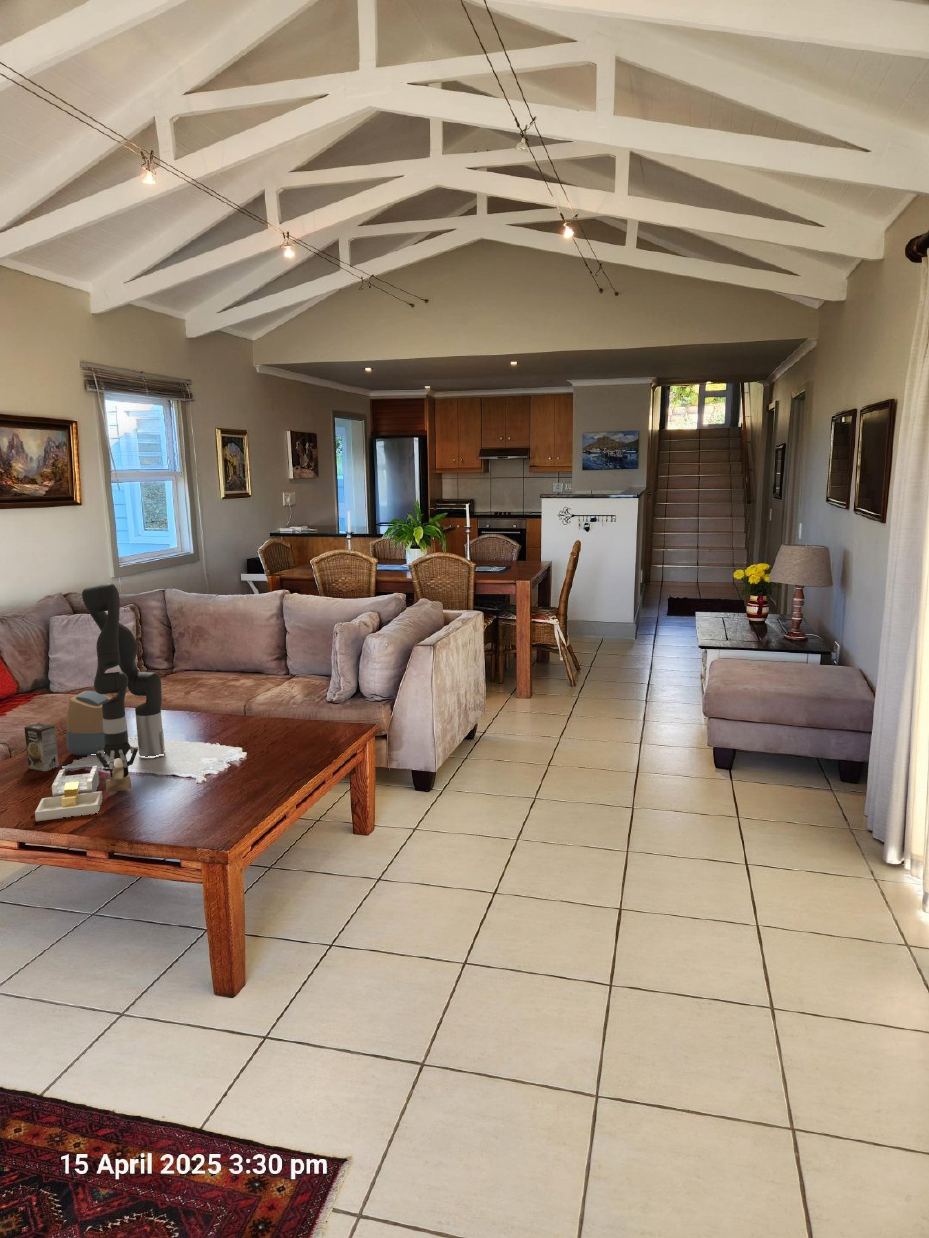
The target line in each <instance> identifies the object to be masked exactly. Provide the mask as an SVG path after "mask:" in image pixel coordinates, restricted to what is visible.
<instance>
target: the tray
mask: <svg viewBox="0 0 929 1238" xmlns="http://www.w3.org/2000/svg"><path fill="white" fill-rule="evenodd" d="M62 797H63V796H57V797H53V796H49V797H44V798H43V797H42V798H41V799H40V802H39V804H38V806H37V808H36V809H35V811H34V817H35V818H34V819H35V822H40V821H49V820H57V819H64V818H63V817H66V818H70V817H71V816H74V817H80V816H81V815H82V816H87V815H89V814H90V815H94V814H95V813H97V814H99V812H100V809H101V806H102V803H103V800H104V799H103V791H102V790H100V791H99V790H98V791H96V792H91V793H82V794H80V796H79V799H78V806H75V807H66V808H62V801H61V799H62ZM102 799H103V800H102ZM100 805H101V806H100ZM98 811H99V812H98ZM71 818H72V817H71Z"/></svg>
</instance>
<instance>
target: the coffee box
mask: <svg viewBox="0 0 929 1238" xmlns="http://www.w3.org/2000/svg"><path fill="white" fill-rule="evenodd" d="M23 729H24V736H25V737H24V739H25V744H26V753H27V764H28V769H32V770H35V771H36V770H37V771H39V772H40V771H41V772H48V771H50V770H53V769H56V768H58V767H60V766H59V765H60V764H59V755H58V754H59V753H58V746H57V745H58V744H57V743H58V742H57V733H56V725H52V724H47V723H42V722H38V723H35V724H29V725H26V726H25V727H23ZM55 767H56V768H55ZM52 768H53V769H52Z"/></svg>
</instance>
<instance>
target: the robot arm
mask: <svg viewBox="0 0 929 1238" xmlns="http://www.w3.org/2000/svg"><path fill="white" fill-rule="evenodd" d="M81 597H82V598H81V599H82V602H83V605H84V607H85V608H86V610H87V612H88V613H89V615H90V616H91V618H92V619H93V620H94V622H95V624H96V625H97V627H98V628H99V631H100V634H98V637H97V641H96V647H95V648H96V657H97V667H96V672H95V673H96V674H95V676H94V680H93V682H94V683H93V688H94V692H97V693H98V694H103V695H107V694H116V695H115V696H114V697H112V698H111V699H109V700H106V701H104V702H103V703H102V712H103V732H104V743H105V747H104V749H103V750H101V751H98V752H97V754H96V755H95V756H96V757H97V759H98V760H99V762H100V764H101V765H102V767H103V768H104V769H109V774H110V779H111V778H113V776H112V771H113V768H114V765H115V761H116V759H118V758H121V760H122V763H123V766H124V767H123V770H124V777H129V766H133V764H134V761H135V760H136V756H137V754H138V756H139V755H140V756H145V757H148V756H156V755H159V754H164V751H165V752H166V749H165V737H164V735H165V734H164V728H163V718H162V703H163V700H162V699H163V697H162V693H163V692H162V680H161V679H162V678H161V677H160V675H159V674H158V672H154V671H152V672H151V671H140V670H139V669H138V666H137V665H136V658H137V655H138V651H139V646H138V642H137V640H136V638H135V635H133V634H134V633H133V632H132V631H131V630H130V629H129V627H127V626H126V625H124V624H122V623H121V622H120V608H121V599H120V593H119V591H118V588H117V586H116V585H115V584H113V583H108V582H107V583H103V584H98V585H93V586H92V585H91V586H89V587H86V588H84V589H83V590H82V593H81ZM106 611H107V612H106ZM117 666H119V669H120V670H121V671H114V672H113V671H111V672H106V671H107V670H110V669H112V668H115V667H117ZM127 689H128V691H129V692H130V693H131V694H132V695H133V696H138V697H145V702H143V703H139V704H137V705H136V706H135V710H134V711H135V725H136V734H137V735H136V736H137V746H131V744H130V742H129V733H128V732H129V731H128V723H127V717H126V709H125V708H126V706H125V702H126V701H125V700H126V699H125V698H126V694H127ZM129 751H130V754H131V757H130V759H129V760H128V758H127V755H128V752H129ZM104 752H105V753H106V755H107V756H108V757H109V762H108V761H107V759H106V758H105V754H104ZM164 755H165V754H164Z"/></svg>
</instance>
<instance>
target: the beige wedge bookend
mask: <svg viewBox="0 0 929 1238" xmlns="http://www.w3.org/2000/svg"><path fill="white" fill-rule="evenodd" d="M123 767H124V766H123V763H122V760H121V758H117V759H115V761H114V768H113V771H112V776H113V777H112V778H111V777H110V778H106V780H105V786H106V787H105V788H106V789H105V790H106V793H111V792H120V791H121V792H122V791H129V790H131V789H132V783H131V776H129V775H128V776H127V777H124V770H123Z"/></svg>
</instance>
